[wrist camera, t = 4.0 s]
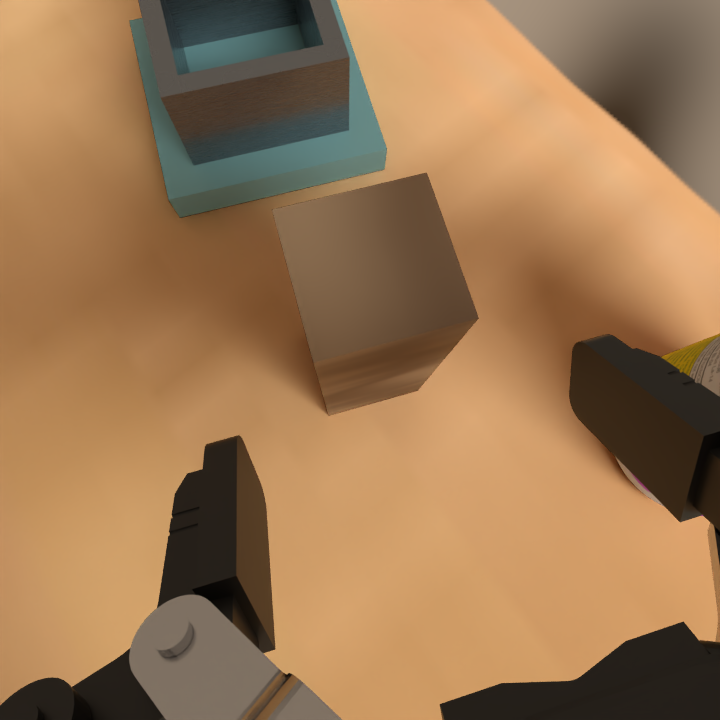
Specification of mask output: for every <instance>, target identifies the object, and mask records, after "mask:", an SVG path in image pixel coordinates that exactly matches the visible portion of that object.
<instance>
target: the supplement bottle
mask: <svg viewBox="0 0 720 720" xmlns="http://www.w3.org/2000/svg"><path fill="white" fill-rule="evenodd" d="M661 358H663V359H664V360H666V361H667V362H669V363H670V364H672V365H673V366H675V367H676V368H678V369H679V371H680V373H681V372H684V373H685V374H687V375H688V376H690V377H691V378H693V379H694V380H695V383H700V384H702V385H703V386H705V387H706V388H708V389H709V390H711V391H712V392H714V393H715V394H716V395H718V396H719V397H720V334H717V335H715V336H713V337H710V338H707V339H704V340H702V341H699V342H697V343H694V344H692V345H689V346H687V347H684V348H682V349H679V350H676V351H674V352H671V353H669V354H666V355H664V356H662V357H661ZM616 459H617V458H616ZM617 461H618V463H619V465H620V467H621V469H622V470H623V472H624V473H625V475H626V476H627V477H628V479H629V480H630V481H631V482H632V483H633V484H634V485H635V486H636V487H637V488H638V489H639V490H640V491H641V492H642V493H644V494H645V495H646V496H647V497H649V498H650V499H652V500H653V501H655V502H657V503H658V504H660V505H662V506H664V505H663V504H662V503H661V502H660V501H659V500H658V499H657V498H656V497H655V496H654V495H653V494H652V493H651V492H650V491H649V490H648V489H647V488H646V487H645V486H644V485H643V484H642V483H641V482H640V481H639V480H638V479H637V478H636V477H635V476H634V475H633V474H632V473H631V472H630V471H629V470H628V469H627V468H626V467H625V466H624V465H623V464H622V463H621V462H620V461H619V460H618V459H617ZM664 507H665V506H664ZM701 516H703V515H701Z"/></svg>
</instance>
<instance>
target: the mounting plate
mask: <svg viewBox="0 0 720 720" xmlns="http://www.w3.org/2000/svg"><path fill="white" fill-rule="evenodd" d="M331 3H332V6H333V9H334V12H335V15H336V18H337V21H338V24H339V27H340V30H341V33H342V36H343V39H344V42H345V45H346V48H347V51H348V54H349V57H350V78H349V130H348V131H344V132H339V133H335V134H331V135H326V136H322V137H317V138H313V139H309V140H304V141H300V142H295V143H291V144H287V145H282V146H278V147H273V148H269V149H265V150H260V151H256V152H251V153H247V154H243V155H238V156H234V157H229V158H225V159H221V160H216V161H212V162H207V163H203V164H199V165H193V163H192V161H191V159H190V157H189V155H188V153H187V151H186V149H185V147H184V145H183V142H182V140H181V138H180V136H179V134H178V132H177V130H176V128H175V126H174V124H173V122H172V120H171V118H170V116H169V114H168V112H167V110H166V108H165V106H164V104H163V102H162V100H161V98H160V94H159V89H158V85H157V80H156V76H155V72H154V67H153V63H152V58H151V54H150V50H149V45H148V41H147V36H146V32H145V27H144V23H143V19H142V18H140V19H135V20H130V26H131V30H132V35H133V40H134V44H135V49H136V53H137V58H138V62H139V67H140V72H141V76H142V81H143V85H144V90H145V94H146V99H147V104H148V108H149V113H150V117H151V122H152V126H153V131H154V136H155V140H156V145H157V149H158V154H159V158H160V163H161V168H162V172H163V177H164V181H165V186H166V191H167V195H168V200H169V201H170V203H171V205H172V206H173V208H174V209H175V211H176V212H177V214H178V215H179V217H180V218H181V217H185V216H189V215H194V214H198V213H202V212H206V211H211V210H215V209H219V208H223V207H227V206H232V205H236V204H240V203H244V202H249V201H253V200H257V199H261V198H266V197H270V196H274V195H278V194H282V193H287V192H291V191H295V190H299V189H304V188H308V187H312V186H316V185H321V184H325V183H329V182H333V181H337V180H342V179H346V178H350V177H354V176H359V175H363V174H367V173H371V172H375V171H380V170H384V169H385V161H386V153H387V148H386V145H385V142H384V139H383V136H382V133H381V130H380V127H379V124H378V121H377V118H376V116H375V113H374V110H373V107H372V104H371V101H370V98H369V95H368V92H367V89H366V86H365V83H364V80H363V77H362V74H361V71H360V68H359V66H358V63H357V60H356V57H355V54H354V51H353V48H352V45H351V42H350V39H349V36H348V33H347V30H346V27H345V24H344V21H343V19H342V16H341V13H340V10H339V7H338V4H337V1H336V0H331ZM301 49H305V45H304V42H303V39H302V36H301V33H300V30H299V26H298V24H297V25H292V26H287V27H282V28H277V29H272V30H267V31H262V32H258V33H253V34H248V35H243V36H238V37H233V38H228V39H223V40H219V41H214V42H209V43H204V44H199V45H194V46H189V47H184V51H185V55H186V60H187V64H188V68H189V72H190V73H191V72H196V71H201V70H205V69H210V68H215V67H220V66H225V65H229V64H234V63H239V62H244V61H248V60H253V59H258V58H263V57H267V56H272V55H277V54H282V53H286V52H291V51H296V50H301Z"/></svg>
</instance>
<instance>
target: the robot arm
mask: <svg viewBox="0 0 720 720" xmlns="http://www.w3.org/2000/svg"><path fill="white" fill-rule="evenodd" d="M569 397H570V403H571V406H572V409H573V411H574V413H575V415H576V416H577V417H578V419H579V420H580V421H581V422H582V423H583V424H584V425H585V426H586V427H587V428H588V429H589V430H590V431H591V432H592V433H593V434H594V435H595V436H596V437H597V438H598V439H599V440H600V441H601V442H602V443H603V444H604V445H605V446H606V447H607V448H608V449H609V450H610V451H611V452H612V453H613V455H614V456H615V457H616V458H617V459H618V460H619V461H620V462H621V463H622V464H623V465H624V466H625V467H626V468H627V469H628V470H629V471H630V472H631V473H632V474H633V475H634V476H635V477H636V478H637V479H638V480H639V481H640V482H641V483H642V484H643V485H644V486H645V487H646V488H647V489H648V490H649V491H650V492H651V493H652V494H653V495H654V496H655V497H656V498H657V499H658V500H659V501H660V502H661V503H662V504H663V505H664V506H665V507H666V508H667V509H668V510H669V511H670V512H671V514H672V515H673V516H674V517H675V518H676V519H677V520H678V521H679V522H682V521H685V520H689V519H692V518H695V517H698V516H701V515H703V516H704V517H705V518H706V519H707V520H709V521H710V525H709V528H708V541H709V549H710V556H711V564H712V572H713V580H714V587H715V595H716V603H717V611H718V627H717V635H716V642H712V641H701V640H700V641H699V640H698V639H697V638H696V636H695V635H694V634H693V633H692V632H691V630H690V629H689V628H688V627H687V625H686V624H685V623H684V622H681V623H678V624H675V625H672V626H669V627H666V628H663V629H660V630H657V631H654V632H651V633H649V634H646V635H643V636H640V637H637V638H634V639H631V640H628V641H625V642H624V643H623V644H622V645H620V646H619V647H618V648H616V649H615V650H614V651H613V652H611V653H610V654H609V655H608V656H606V657H605V658H604V659H602V660H601V661H600V662H599V663H597V664H596V665H595V666H593V667H592V668H591V669H590V670H588V671H587V672H586V673H585V674H583V675H582V676H581V677H579V678H577V679H575V680H572V681H559V682H527V683H501V684H498V685H495V686H492V687H489V688H486V689H483V690H481V691H478V692H475V693H472V694H469V695H466V696H463V697H460V698H457V699H454V700H451V701H448V702H445V703H442V704H440V709H441V714H442V719H443V720H720V397H719V396H718V395H716V394H715V393H714V392H712V391H711V390H709V389H708V388H706V387H705V386H703V385H702V384H700V383H695V380H694V379H693V378H691V377H690V376H688V375H687V374H685V373H684V372H681V373H680V371H679V369H678V368H676V367H675V366H673V365H672V364H670V363H669V362H667V361H666V360H664V359H663V358H661V357H660V356H657V355H654V354H651V353H648V352H645V351H643V350H640V349H637V348H635V349H632V348H630V347H629V346H627V345H626V344H625V343H623V342H622V341H620V340H619V339H617V338H616V337H615V336H613V335H610V334H606V335H602V336H599V337H595V338H591V339H588V340H584V341H581V342H577V343H576V344H575V345H574V347H573V351H572V363H571V377H570V391H569ZM172 517H173V518H172V519H171V523H170V530H169V532H170V536H168V543H167V549H166V556H165V562H164V569H163V576H162V582H161V589H160V595H159V602H158V606H157V609H156V610H154V611H153V612H152V613H151V614H150V615H149V616H148V617H147V618H146V620H145V621H144V622H143V623H142V625H141V626H140V628H139V629H138V631H137V633H136V635H135V637H134V639H133V642H132V645H131V648H130V649H129V650H127V651H126V652H125V653H124V654H123V655H121V656H120V657H118V658H117V659H115V660H114V661H112V662H111V663H109V664H108V665H106V666H104V667H103V668H101V669H100V670H98V671H97V672H95V673H93V674H92V675H90V676H89V677H87V678H85V679H84V680H82V681H81V682H79V683H78V684H76V685H74V686H73V687H71V686H70V685H69V684H68V683H67V682H65V681H64V680H62V679H59V678H44V679H41V680H37V681H35V682H33V683H30V684H28V685H26V686H25V687H23V688H21V689H20V690H18V691H17V692H16V693H14V694H13V695H11V696H10V697H9V698H8V699H7V700H6V701H5V702H3V703H2V704H1V705H0V720H342V719H341V718H340V717H339V716H338V715H336V714H335V713H334V712H333V711H332V710H331V709H330V708H329V707H328V706H327V705H326V704H325V703H324V702H323V701H322V700H321V699H320V698H319V697H318V696H317V695H316V694H315V693H314V692H313V691H312V690H310V689H309V688H308V687H307V686H306V685H305V684H304V683H303V682H302V681H301V680H299V679H298V678H297V677H296V676H294V675H293V674H290V673H288V675H286V674H285V673H283V672H282V671H281V670H280V669H278V668H277V667H276V666H275V665H274V664H273V663H272V662H271V661H270V660H269V659H268V658H267V657H266V656H265V655H264V654H263V653H265V652H268V651H272V650H275V637H274V621H273V606H272V590H271V574H270V558H269V542H268V527H267V511H266V503H265V497H264V493H263V489H262V486H261V483H260V481H259V478H258V476H257V473H256V471H255V468H254V466H253V464H252V461H251V459H250V456H249V454H248V451H247V449H246V446H245V444H244V442H243V440H242V438H241V436H239V435H238V436H234V437H231V438H227V439H224V440H220V441H216V442H213V443H209V444H206V446H205V451H204V462H203V469H202V470H198V471H195V472H191V473H188V474H187V475H186V476H185V478H184V480H183V481H182V483H181V485H180V486H179V488H178V490H177V491H176V493H175V497H174V503H173V510H172Z"/></svg>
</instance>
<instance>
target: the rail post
mask: <svg viewBox="0 0 720 720" xmlns="http://www.w3.org/2000/svg"><path fill="white" fill-rule="evenodd" d="M272 212H273V216H274V219H275V223H276V227H277V230H278V234H279V238H280V241H281V245H282V249H283V253H284V256H285V260H286V264H287V267H288V271H289V275H290V278H291V282H292V286H293V289H294V293H295V297H296V301H297V304H298V308H299V312H300V315H301V319H302V323H303V326H304V330H305V334H306V338H307V341H308V345H309V349H310V352H311V356H312V360H313V363H314V367H315V370H316V374H317V377H318V381H319V384H320V387H321V391H322V394H323V398H324V401H325V405H326V408H327V412H328V415H333V414H336V413H340V412H344V411H347V410H351V409H354V408H358V407H361V406H365V405H368V404H372V403H376V402H379V401H383V400H386V399H390V398H393V397H397V396H401V395H404V394H408V393H411V392H415V391H418V390H419V388H420V387H421V386H422V385H423V384H424V382H425V381H426V380H427V379H428V378H429V377H430V375H431V374H432V373H433V372H434V371H435V369H436V368H437V367H438V366H439V365H440V363H441V362H442V361H443V360H444V359H445V358H446V356H447V355H448V354H449V353H450V352H451V350H452V349H453V348H454V347H455V346H456V345H457V343H458V342H459V341H460V340H461V339H462V337H463V336H464V335H465V334H466V333H467V331H468V330H469V329H470V328H471V327H472V326H473V324H474V323H475V322H476V321H477V320H478V315H477V312H476V309H475V306H474V304H473V301H472V298H471V295H470V292H469V290H468V287H467V284H466V281H465V278H464V276H463V273H462V270H461V267H460V264H459V262H458V259H457V256H456V253H455V250H454V248H453V245H452V242H451V239H450V236H449V234H448V231H447V228H446V225H445V222H444V220H443V217H442V214H441V211H440V208H439V206H438V203H437V200H436V197H435V194H434V191H433V189H432V186H431V183H430V180H429V177H428V175H427V173H423V174H419V175H415V176H411V177H406V178H402V179H398V180H394V181H390V182H385V183H381V184H377V185H373V186H369V187H365V188H360V189H356V190H352V191H348V192H344V193H339V194H335V195H331V196H327V197H323V198H318V199H314V200H310V201H306V202H302V203H297V204H293V205H289V206H285V207H281V208H276V209H272Z"/></svg>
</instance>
